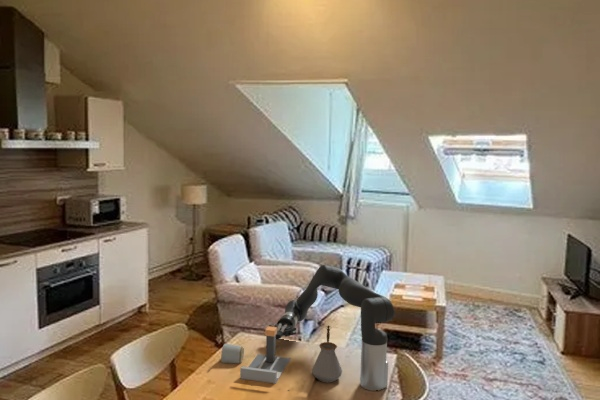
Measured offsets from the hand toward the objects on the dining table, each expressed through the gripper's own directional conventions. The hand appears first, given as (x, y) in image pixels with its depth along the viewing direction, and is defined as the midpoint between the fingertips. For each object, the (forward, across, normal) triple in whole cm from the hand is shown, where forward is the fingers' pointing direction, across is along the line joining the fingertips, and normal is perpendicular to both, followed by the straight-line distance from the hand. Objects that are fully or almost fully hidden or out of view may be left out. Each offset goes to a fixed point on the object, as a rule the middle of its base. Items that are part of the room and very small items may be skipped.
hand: (277, 337), depth 207 cm
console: (+15, 0, +8) cm, 17 cm away
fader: (+9, 0, +7) cm, 11 cm away
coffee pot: (+9, +23, +8) cm, 26 cm away
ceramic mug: (+10, -16, +8) cm, 21 cm away
